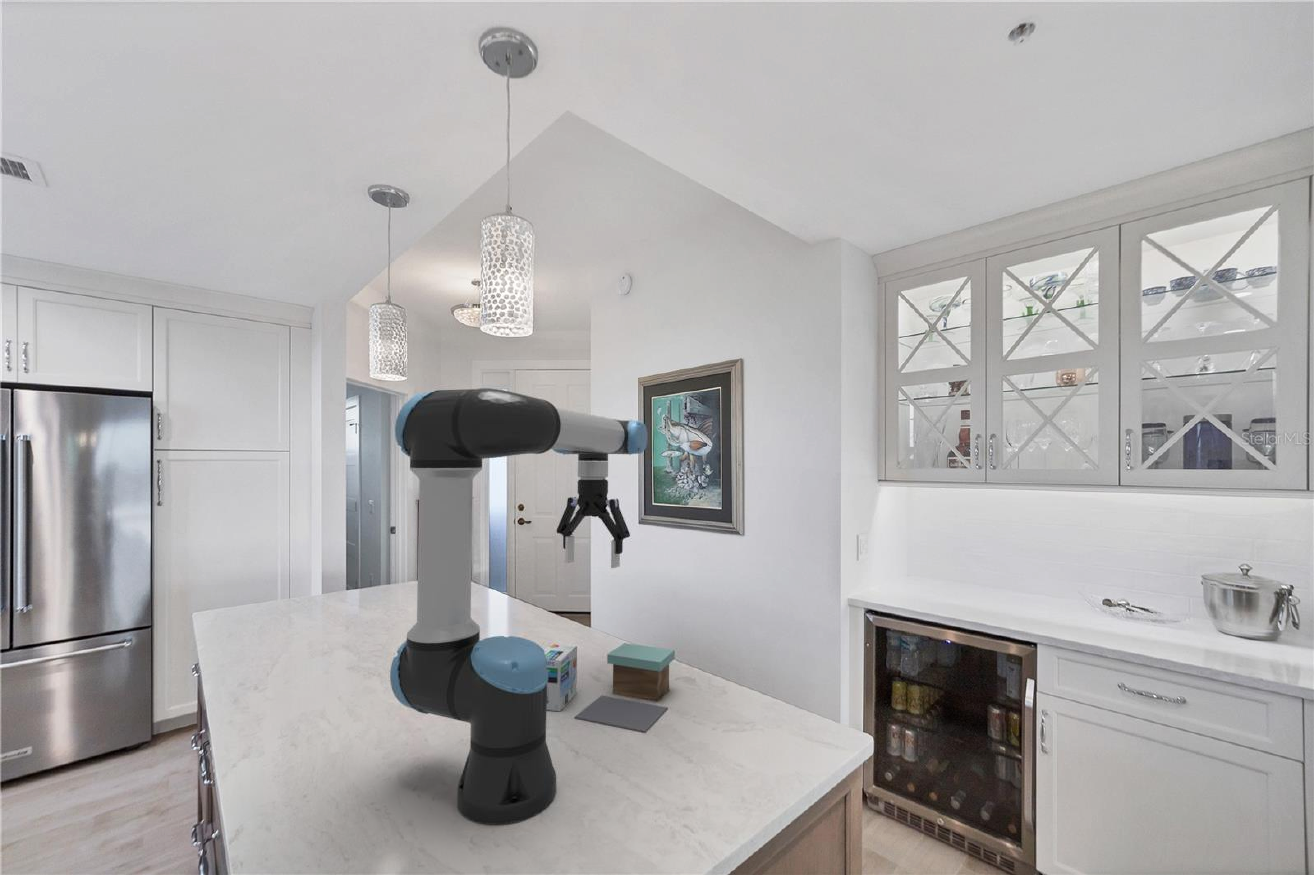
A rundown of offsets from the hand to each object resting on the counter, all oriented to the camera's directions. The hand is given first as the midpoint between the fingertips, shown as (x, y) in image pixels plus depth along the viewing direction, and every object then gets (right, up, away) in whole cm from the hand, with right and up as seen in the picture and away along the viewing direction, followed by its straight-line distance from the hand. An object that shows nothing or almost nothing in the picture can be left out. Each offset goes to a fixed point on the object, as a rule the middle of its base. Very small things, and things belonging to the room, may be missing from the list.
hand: (591, 565), depth 142 cm
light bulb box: (-6, -27, -15) cm, 32 cm away
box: (+12, -27, -10) cm, 31 cm away
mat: (+9, -27, -21) cm, 35 cm away
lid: (+12, -21, -9) cm, 26 cm away
